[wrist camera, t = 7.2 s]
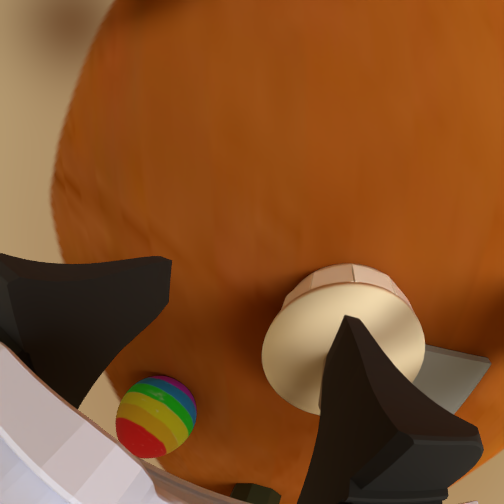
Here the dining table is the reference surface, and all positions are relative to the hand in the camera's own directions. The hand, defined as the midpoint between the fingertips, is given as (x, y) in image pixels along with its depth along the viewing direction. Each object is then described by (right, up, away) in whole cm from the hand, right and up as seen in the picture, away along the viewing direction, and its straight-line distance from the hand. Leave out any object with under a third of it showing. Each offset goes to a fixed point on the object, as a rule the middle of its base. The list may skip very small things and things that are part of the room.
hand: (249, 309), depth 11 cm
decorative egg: (-9, -14, +18) cm, 25 cm away
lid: (+6, -5, +6) cm, 10 cm away
